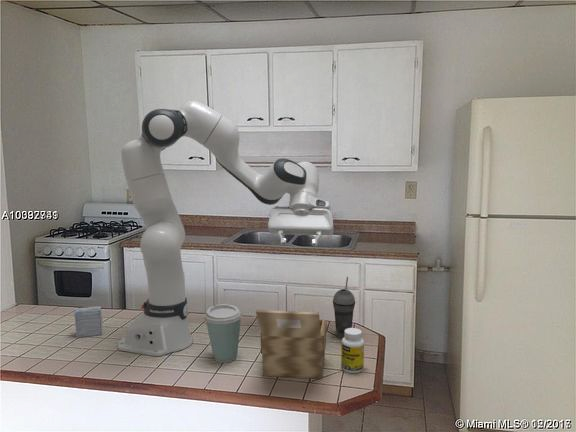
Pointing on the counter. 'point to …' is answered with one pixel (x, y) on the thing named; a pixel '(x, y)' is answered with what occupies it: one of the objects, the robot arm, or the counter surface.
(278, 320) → the lid flap
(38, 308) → the counter surface
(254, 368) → the counter surface
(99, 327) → the grey upright block
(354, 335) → the pill bottle
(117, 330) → the counter surface
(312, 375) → the cardboard carton
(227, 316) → the disposable coffee cup
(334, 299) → the beverage cup
